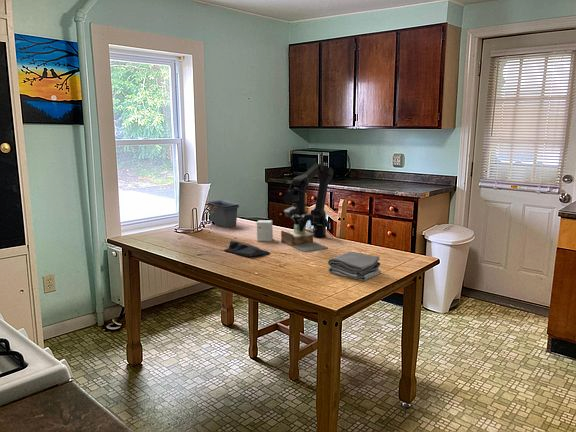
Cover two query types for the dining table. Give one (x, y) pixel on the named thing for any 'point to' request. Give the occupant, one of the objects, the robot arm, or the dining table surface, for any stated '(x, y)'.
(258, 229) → the small box
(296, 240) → the walnut box
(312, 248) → the rubber mat
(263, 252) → the crumpled dark cloth
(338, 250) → the dining table surface
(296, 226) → the cover plate
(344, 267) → the towel
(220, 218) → the storage bin
